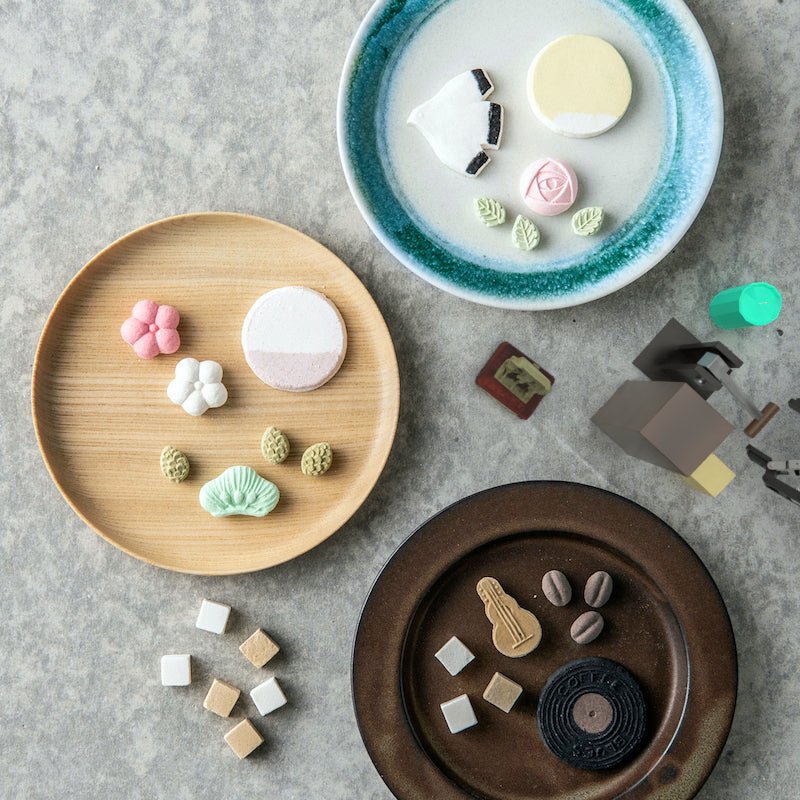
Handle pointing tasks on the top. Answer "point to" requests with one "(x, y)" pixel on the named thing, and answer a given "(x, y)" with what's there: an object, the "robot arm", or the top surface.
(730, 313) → the candle
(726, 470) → the butter
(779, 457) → the top surface
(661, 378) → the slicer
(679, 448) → the stand
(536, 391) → the sculpture
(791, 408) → the robot arm
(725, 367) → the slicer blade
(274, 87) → the top surface
